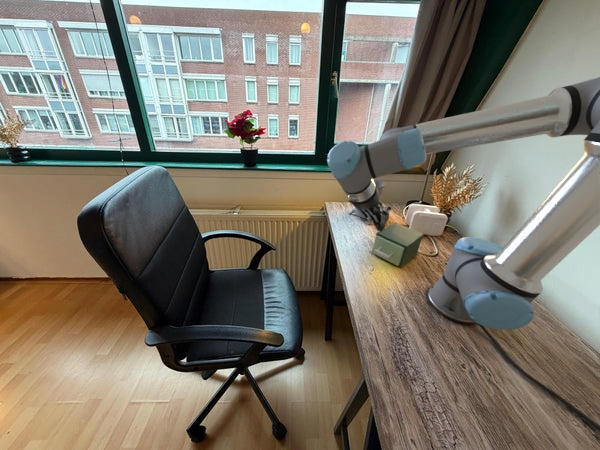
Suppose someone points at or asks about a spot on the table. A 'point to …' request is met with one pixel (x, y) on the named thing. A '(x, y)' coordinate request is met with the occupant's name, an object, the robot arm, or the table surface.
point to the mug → (380, 186)
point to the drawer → (388, 250)
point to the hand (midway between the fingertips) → (381, 227)
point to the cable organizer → (426, 219)
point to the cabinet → (403, 240)
